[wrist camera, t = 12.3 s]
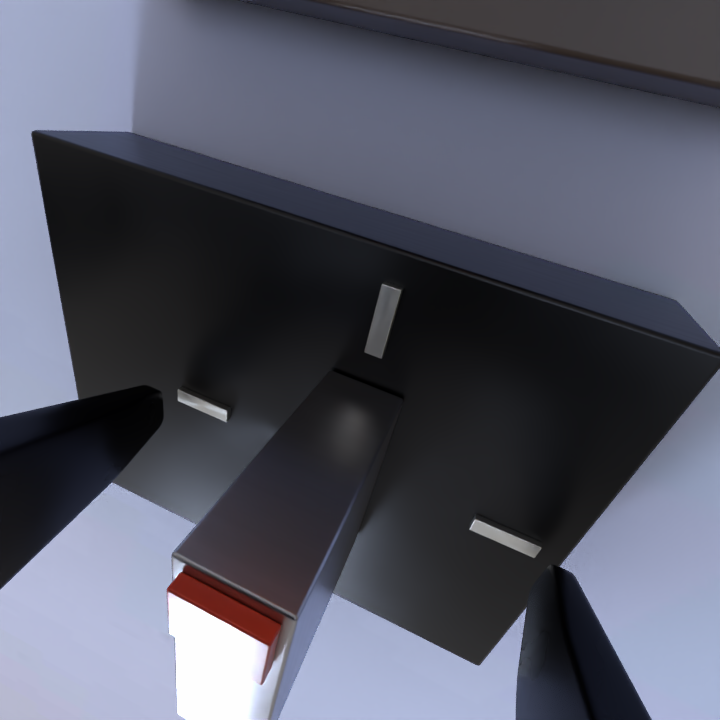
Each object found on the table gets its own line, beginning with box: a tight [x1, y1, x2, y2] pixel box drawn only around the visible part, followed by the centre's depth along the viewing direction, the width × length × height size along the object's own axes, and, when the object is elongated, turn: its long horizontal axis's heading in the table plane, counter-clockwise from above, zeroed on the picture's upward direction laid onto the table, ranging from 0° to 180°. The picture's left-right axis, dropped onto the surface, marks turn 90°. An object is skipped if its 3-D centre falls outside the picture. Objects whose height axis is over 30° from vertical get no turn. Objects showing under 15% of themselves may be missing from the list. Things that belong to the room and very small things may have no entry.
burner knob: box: [167, 370, 403, 720], centre depth 7 cm, size 5×2×5 cm, turn 168°
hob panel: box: [31, 130, 720, 665], centre depth 11 cm, size 13×10×3 cm
